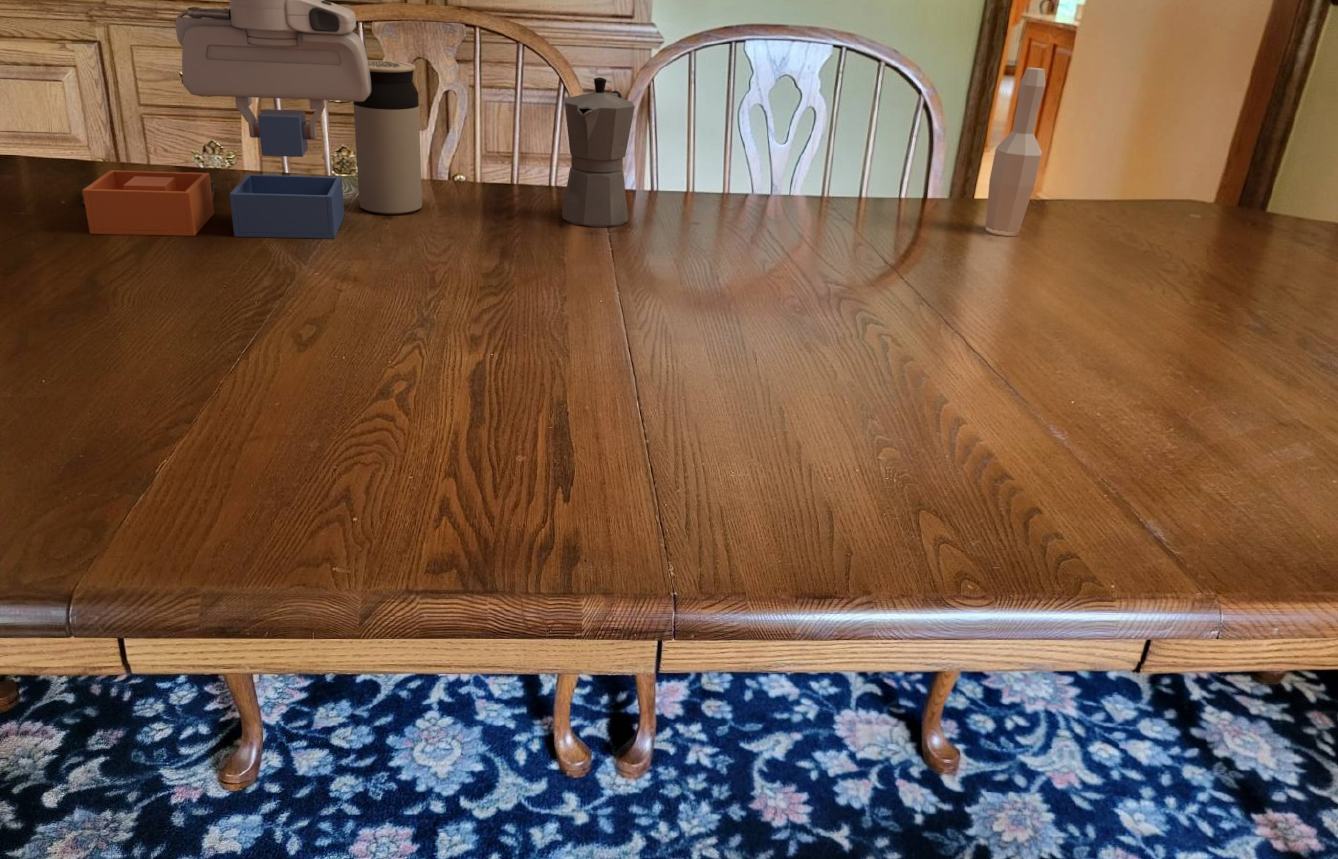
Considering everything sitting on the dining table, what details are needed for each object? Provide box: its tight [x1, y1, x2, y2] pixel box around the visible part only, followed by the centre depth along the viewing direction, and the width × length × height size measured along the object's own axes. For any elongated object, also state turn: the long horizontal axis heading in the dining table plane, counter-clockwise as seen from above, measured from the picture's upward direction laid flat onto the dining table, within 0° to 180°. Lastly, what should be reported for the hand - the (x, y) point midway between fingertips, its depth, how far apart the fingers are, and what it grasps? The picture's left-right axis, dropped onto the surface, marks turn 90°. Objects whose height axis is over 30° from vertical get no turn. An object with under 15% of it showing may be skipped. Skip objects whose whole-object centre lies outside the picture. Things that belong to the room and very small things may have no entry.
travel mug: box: [352, 59, 423, 216], centre depth 134 cm, size 8×8×18 cm
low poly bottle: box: [985, 66, 1046, 237], centre depth 144 cm, size 6×6×22 cm
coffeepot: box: [561, 77, 636, 228], centre depth 137 cm, size 15×9×18 cm, turn 165°
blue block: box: [257, 108, 309, 158], centre depth 123 cm, size 4×4×4 cm
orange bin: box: [82, 169, 215, 237], centre depth 124 cm, size 11×10×5 cm
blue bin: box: [229, 173, 345, 240], centre depth 126 cm, size 11×10×5 cm
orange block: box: [123, 176, 177, 191], centre depth 124 cm, size 4×4×4 cm
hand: (284, 137), depth 123 cm, fingers closed on blue block, 4 cm apart
